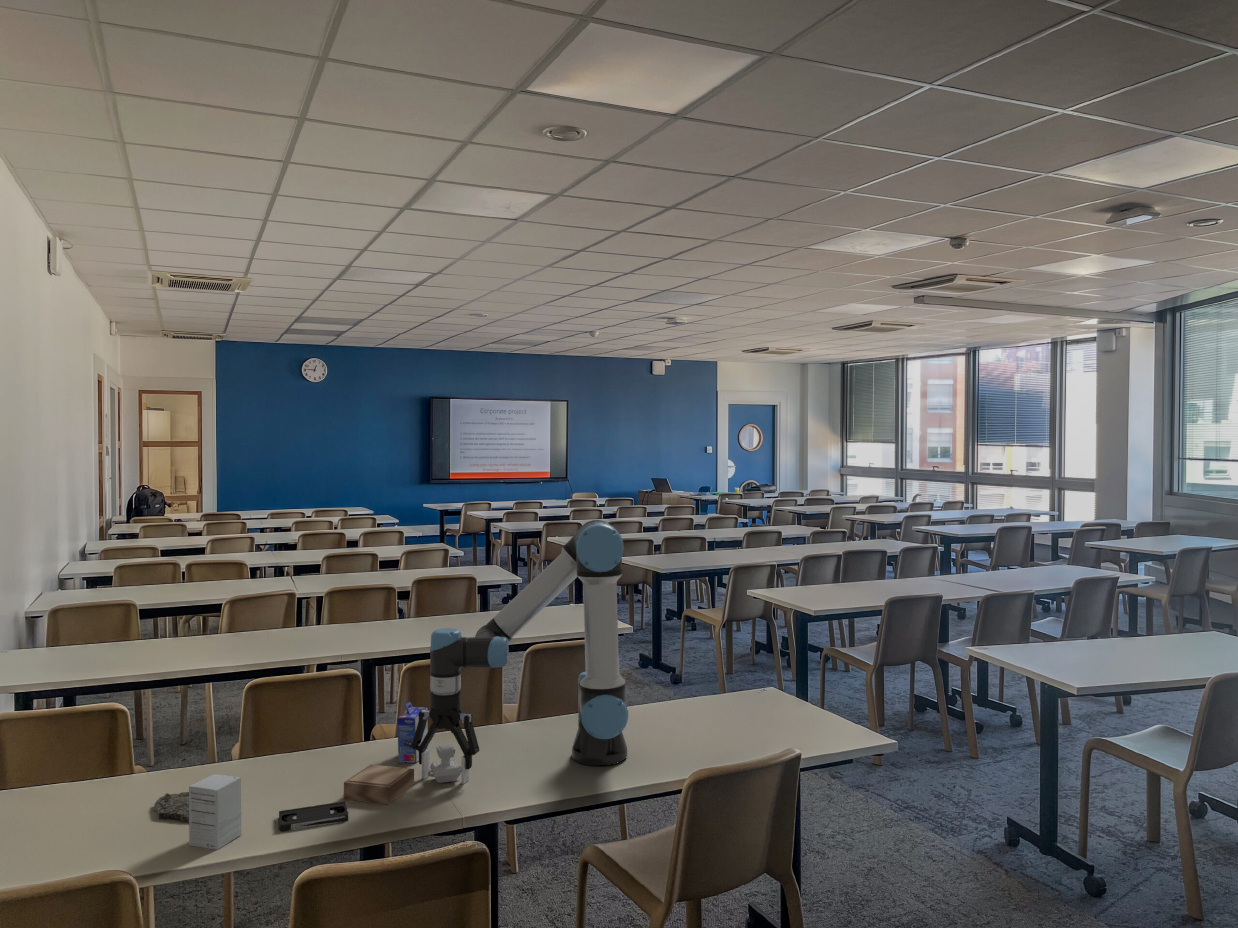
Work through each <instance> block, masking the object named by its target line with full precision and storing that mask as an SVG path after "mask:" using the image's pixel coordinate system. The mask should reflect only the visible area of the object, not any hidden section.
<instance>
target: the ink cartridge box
mask: <svg viewBox="0 0 1238 928" xmlns="http://www.w3.org/2000/svg"><path fill="white" fill-rule="evenodd" d="M404 707H405V709H406V710H404V712H403V713H401V715H399V716H398V717H397V719H396V721H397V723H396V724H397V726H396V727H397V749H398V750H397V752H398V754H397V755H398V756H397V757H398V763H405V762H407V763H408V764H417V763H419V752H418V750H416V749H412V747H411V746H412V743H413V739H414V736H415V732H416V729H417V725H418V722H419V716H418V714H419V712H421V711H422V710H424V709H426V710H427V711H428V707H427V706H426V707H425V706H423V707H421V706H413V704H412V702H411V701H408V702H407V703H406V704H405V705H404ZM428 727H429V726H428V720H427V723H426V726H425V730H424V733H423V737H422V740H421V743H422V741H423V739H424V738H425V736H426V734H427V732H428V731H429V729H428ZM427 747H428V748H426V750H429V745H428V746H427ZM407 763H406V764H407Z"/></svg>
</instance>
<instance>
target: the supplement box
mask: <svg viewBox="0 0 1238 928" xmlns="http://www.w3.org/2000/svg"><path fill="white" fill-rule="evenodd" d="M188 792H189V823H188V828H189V829H188V831H189V833H188V835H189V836H188V838H189V840H188V841H189V842H188V843H189V845H190V846H192V847H196V848H204V849H209V850H215V851H216V850H217V851H218V850H219V849H220V848H223V847H224V846H226V845H227V844H229V843H231V842H232V841H234V840H235V839H237V838H239V837H240V836H242V777H239V776H231V775H224V774H218V773H217V774H216V773H215V774H214V773H213V774H210V775H209V776H207V777H205V778H203V779H200V780H199V781H196V782H195V783H193V784H191V785H189V786H188Z"/></svg>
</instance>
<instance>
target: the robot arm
mask: <svg viewBox="0 0 1238 928" xmlns="http://www.w3.org/2000/svg"><path fill="white" fill-rule="evenodd" d="M624 545H625V544H624V539H623V538H622V536H621V534H620V532H619V530H617V528H616V527H614V526H613V525H611V524H610V523H608V522H607V521H605V520H601V519H600V520H599V519H593V520H589V521H587V522H585V523H584V524H582V525H581V526H580V527H579V528H578V529H577V531H576V532H575V533H574V535H573V536H572V537H570V539H569V540H568V541H567V542H566V543H565V544H564V545H563V546H562V547H561V553H560V554H559V555H558V556H557V557H556V558H555V559H554V560H552V561H551V563H549V565H547V566H546V567H545V568H544V569H543V570H542V571H541V572H540V573H538V575H537V576H536V577H535V578H534V579H532V580H531V582H529V584H527V585H526V586H525V587H524V588H523V589H522V590H521V591H520V592H519V593H517V595H516V596H514V598H512V599H511V600H510V601H509V602H508V603H507V604H506V605H505V606H504V607H503V608H502V609H500V611H499V612H498V613H497V614H495V615H494V617H493V618H491V619H490V620H489V621H488V622H487V623H486V624H485V625H482V626H481V627H479V629H478V630H477V631H476V633H475V635H474V636H472V637H471V636H470V637H466V636H462V633H461V630H460V629H458V628H450V627H446V628H445V627H444V628H439V629H435V630H434V631H433V632H432V633H431V635H430V648H429V657H430V659H429V661H430V662H429V663H430V667H429V668H430V669H429V670H430V671H429V672H430V673H429V675H430V676H429V677H430V680H429V681H430V683H429V684H430V686H429V687H430V688H429V689H430V691H431V693H429V694H430V695H429V700H430V701H429V706H430V709H429V710H428V709H427V710H426V709H424V710H422V711H421V712H419V714H418V716H419V722H418V725H417V729H416V732H415V736H414V739H413V743H412V746H411V747H412V749H416V750H418V752H419V761H418V764H419V765H421V780H425V779H426V778H428V777H429V776H428V774H427V773H428V771H429V770H430V749H429V745H430V743H431V741H432V739H433V737H434V736H435V734H436V732H437V731H438V729H439V730H442V729H444V730H448V731H450V733H451V734H452V735H453V736H454V738H455V740H456V742H457V744H458V746H459V747H460V749H461V751H462V753H463V755H462V756H461V763H460V764H461V765H460V766H461V774H460V775H461V781H460V782H461V784H466V783H467V782H468V781H469V779H470V769H471V768H472V767H473V756H475V755H476V754H478V753H479V752H480V747H479V742H478V737H477V735H476V730H475V728H474V724H473V713H471V712H469V713H463V712H462V710H461V697H462V696H461V691H460V690H461V688H462V686H461V685H462V683H461V681H462V680H461V678H462V677H461V673H462V671H461V669H462V668H466V669H468V668H470V669H471V668H473V669H474V668H493V669H495V668H501V667H502V668H504V667H506V666H508V663H509V656H510V655H509V652H510V650H509V642H510V641H512V639H513V638H514V637H515V636H516V635H517V634H518V633H519V632H520V631H521V630H522V629H524V628H525V627H526V625H528V624H529V623H530V622H531V621H532V620H533V619H534V618H535V617H537V615H538V614H539V613H541V612H542V611H543V609H545V608H546V606H548V605H549V604H550V603H551V602H552V601H553V600H554V599H556V597H557V596H559V595H560V594H561V593H562V592H563V591H564V590H566V588H567V587H568V586H569V585H571V583H572V582H574V581H575V580H576V579H577V578H578V579H579V580H580V581H581V582H582V589H583V590H582V592H583V621H584V623H583V625H584V626H583V628H584V656H585V659H584V661H585V662H584V663H585V671H582V672H581V673H579V675H578V681H577V685H578V694H577V695H578V698H577V699H578V705H577V706H578V707H577V708H578V709H577V710H578V715H577V716H578V718H577V719H578V723H577V726H578V728H577V731H576V734H575V737H574V740H573V744H572V746H571V757H572V760H573V761H574V762H577V763H578V762H579V764H581V763H582V765H585V764H587V766H592V765H598V766H597V767H600V766H599V765H607V766H609V765H608V764H613V765H615V764H614V763H617V762H620V761H622V760H624V759H625V758H626V757H627V758H628V746H627V742H626V740H625V736H624V734H623V731H624V730H625V728H626V726H627V724H628V720H629V710H628V707H627V698H626V697H627V695H626V694H627V693H626V679H625V678H624V677H622V675H621V673H620V658H619V651H620V649H619V623H618V622H619V621H618V619H619V618H618V590H617V589H618V585H617V582H618V580H619V579H621V577H622V576H623V555H624V552H625V551H624V550H625V547H624ZM429 718H430V719H431V721H432V723H431V725H430V726H429V729H428V732H427V734H426V736H425V738H424V739H423V741H422V743H421V740H422V737H423V733H424V730H425V726H426V723H427V721H428V719H429ZM460 720H461V722H462V724H463V728H464V731H465V733H464V731H463V730H462V729H463V728H462V725H461V723H460V722H459V721H460ZM465 735H466V736H465ZM427 746H428V747H427ZM426 748H428V750H426ZM627 758H626V759H627ZM626 759H625V760H626ZM625 760H624V761H625ZM622 762H623V761H622ZM620 763H621V762H620ZM617 764H618V763H617Z"/></svg>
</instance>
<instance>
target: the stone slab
mask: <svg viewBox="0 0 1238 928" xmlns="http://www.w3.org/2000/svg"><path fill="white" fill-rule="evenodd" d="M153 805H154V806H153V808H152V811H153V812H156V811H157V812H156V813H157V815H158V819H160V820H161V819H163V820H170V819H171V820H172V819H173V820H174V819H176V820H178V821H180V822H182V823H188V824H189V791H185V792H184V791H182V792H179V793H173V794H171V793H167V792H166V793H165V794H164V795H162V796H160V797H159V798H157V800H156V801H155V803H154V804H153Z"/></svg>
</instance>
